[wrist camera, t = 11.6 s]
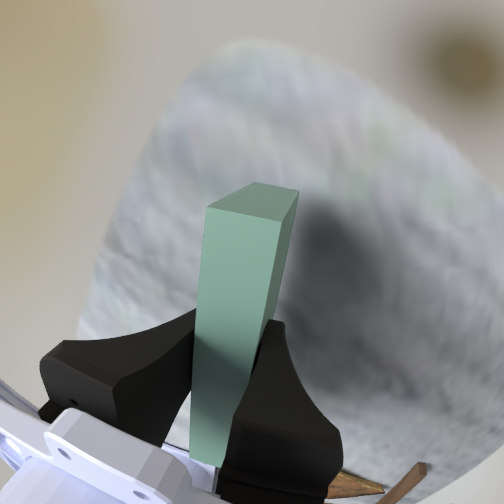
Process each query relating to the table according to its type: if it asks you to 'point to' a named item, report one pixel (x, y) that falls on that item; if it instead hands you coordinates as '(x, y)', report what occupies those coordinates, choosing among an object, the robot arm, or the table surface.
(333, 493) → the shard
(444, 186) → the table surface
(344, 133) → the table surface
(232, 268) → the bar
